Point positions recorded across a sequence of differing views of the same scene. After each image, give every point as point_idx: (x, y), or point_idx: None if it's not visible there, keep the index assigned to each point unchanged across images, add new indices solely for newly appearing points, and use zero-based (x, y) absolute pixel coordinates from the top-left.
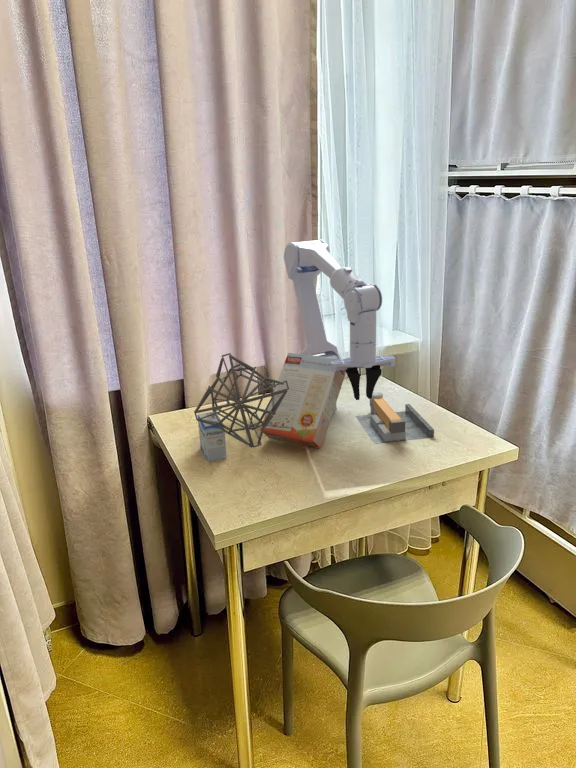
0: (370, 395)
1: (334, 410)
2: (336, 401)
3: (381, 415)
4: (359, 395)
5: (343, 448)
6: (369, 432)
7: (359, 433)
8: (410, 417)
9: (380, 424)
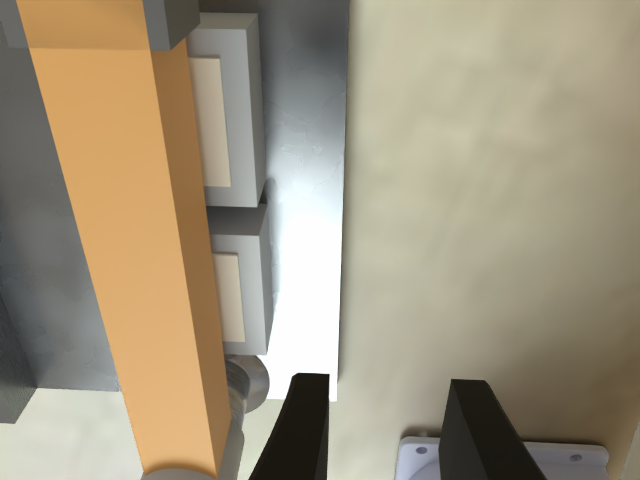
0: (307, 402)
1: (430, 476)
2: (634, 446)
3: (206, 276)
4: (467, 421)
5: (581, 42)
6: (324, 191)
7: (375, 232)
8: (12, 315)
9: (236, 205)
